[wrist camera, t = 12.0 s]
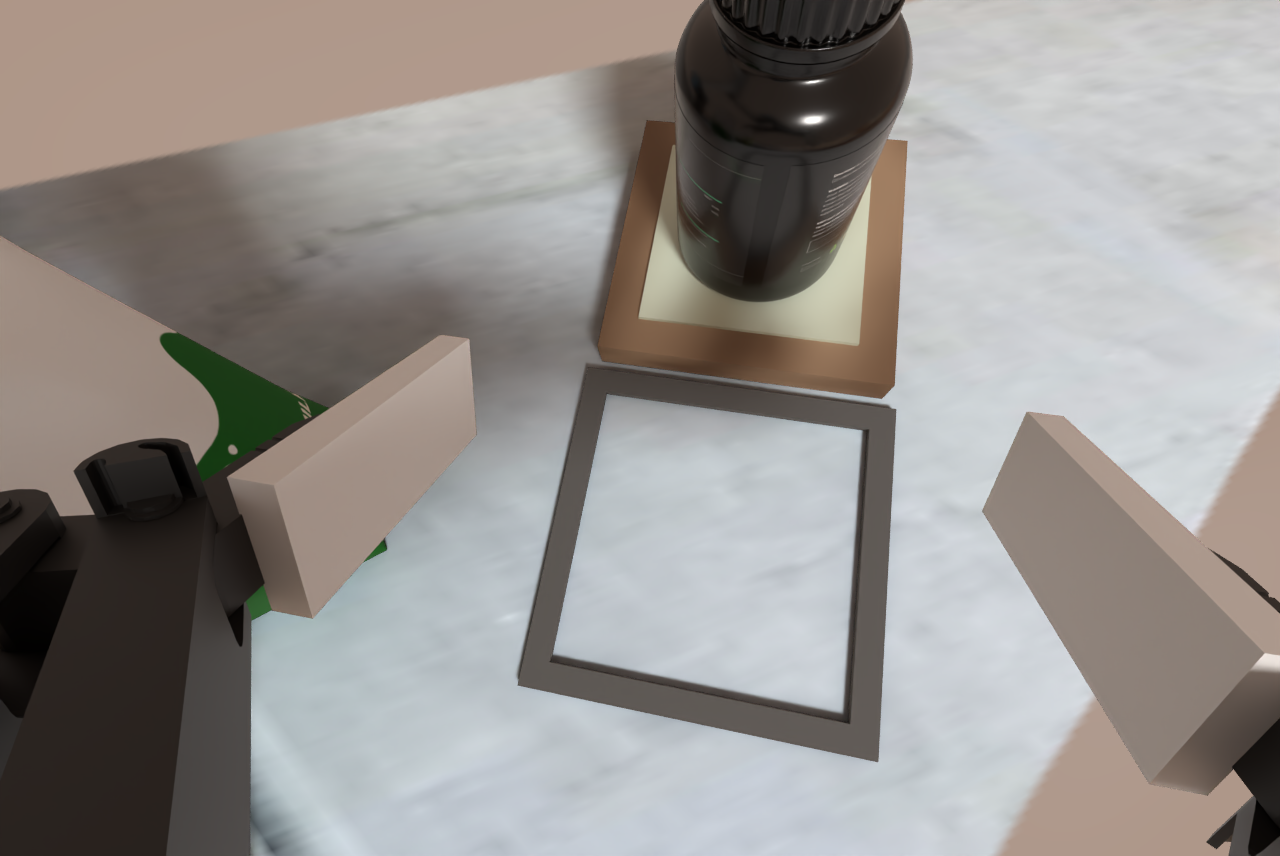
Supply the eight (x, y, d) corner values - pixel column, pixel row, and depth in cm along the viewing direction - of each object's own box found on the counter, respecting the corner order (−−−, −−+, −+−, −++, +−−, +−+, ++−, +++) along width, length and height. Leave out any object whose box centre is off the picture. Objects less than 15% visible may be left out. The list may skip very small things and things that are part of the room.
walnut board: (602, 360, 25) (596, 344, 23) (648, 144, 28) (646, 117, 27) (881, 398, 23) (896, 383, 22) (895, 165, 27) (908, 137, 25)
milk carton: (165, 477, 25) (-1508, 69, 6) (353, 384, 26) (-610, -254, 7) (211, 667, 22) (-2548, 1037, 3) (419, 558, 23) (-864, 338, 4)
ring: (519, 684, 21) (517, 685, 21) (589, 369, 25) (587, 367, 25) (875, 759, 20) (878, 762, 19) (893, 411, 23) (896, 409, 23)
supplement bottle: (818, 162, 25) (929, -205, 14) (854, 294, 23) (1020, -9, 12) (667, 185, 25) (653, -156, 14) (689, 319, 23) (695, 45, 12)
